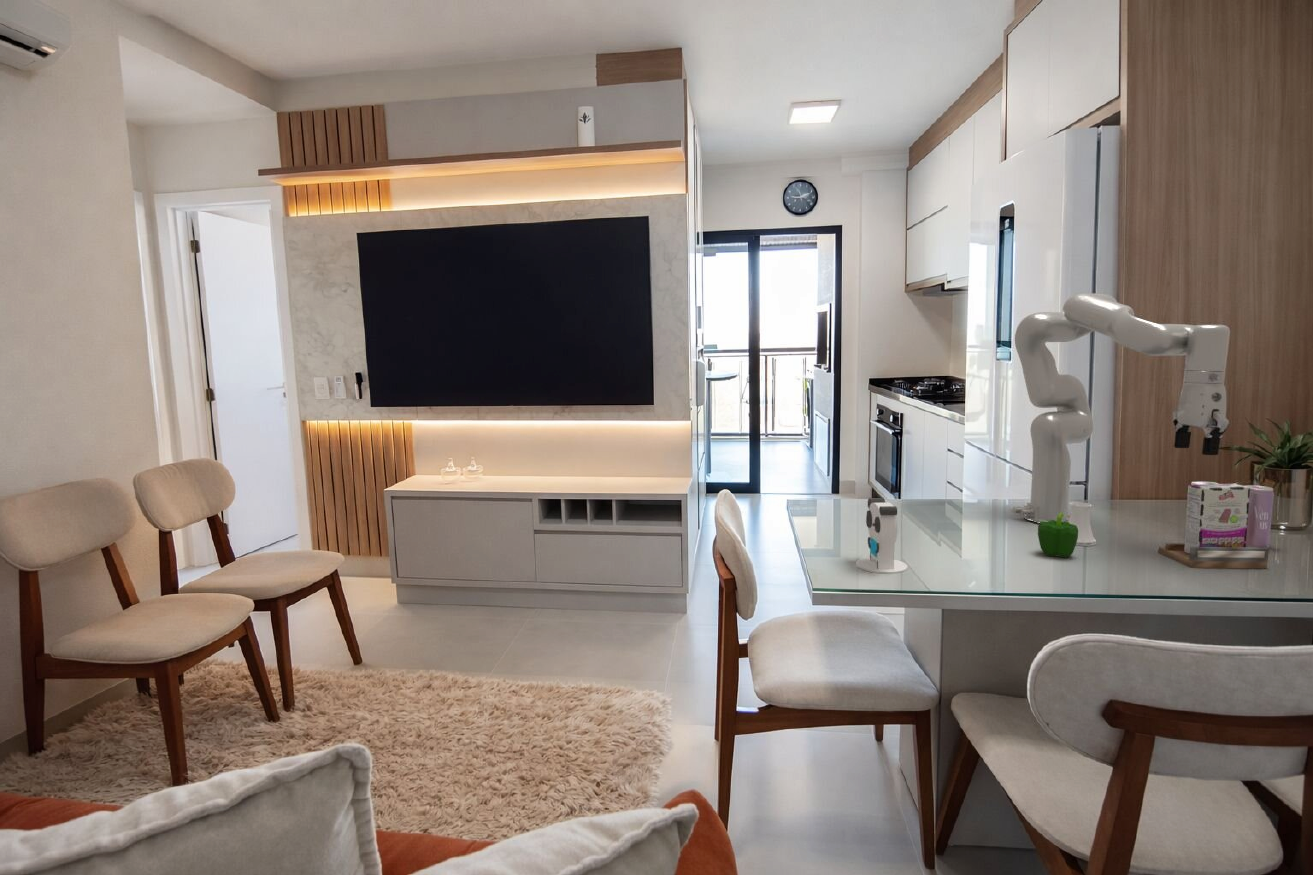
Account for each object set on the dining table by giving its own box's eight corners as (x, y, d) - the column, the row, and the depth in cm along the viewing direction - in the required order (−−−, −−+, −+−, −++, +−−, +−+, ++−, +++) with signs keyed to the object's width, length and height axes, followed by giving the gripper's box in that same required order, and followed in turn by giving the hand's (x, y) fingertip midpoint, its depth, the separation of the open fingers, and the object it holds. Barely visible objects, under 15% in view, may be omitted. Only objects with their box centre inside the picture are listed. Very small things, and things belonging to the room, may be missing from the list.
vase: (1093, 539, 182) (1095, 502, 181) (1097, 547, 175) (1100, 508, 174) (1060, 537, 185) (1062, 499, 184) (1063, 544, 178) (1065, 505, 177)
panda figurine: (850, 557, 169) (851, 496, 167) (897, 557, 168) (899, 496, 167) (863, 573, 157) (864, 508, 155) (914, 573, 157) (916, 507, 155)
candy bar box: (1227, 551, 165) (1233, 482, 163) (1245, 557, 160) (1252, 486, 158) (1181, 552, 165) (1186, 483, 163) (1198, 558, 160) (1204, 487, 158)
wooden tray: (1192, 567, 158) (1194, 548, 157) (1158, 552, 170) (1159, 534, 170) (1268, 568, 157) (1269, 549, 156) (1227, 553, 169) (1229, 534, 168)
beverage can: (1261, 544, 176) (1267, 485, 174) (1273, 550, 170) (1279, 490, 168) (1232, 542, 178) (1238, 484, 176) (1243, 548, 172) (1249, 489, 170)
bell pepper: (1062, 562, 164) (1065, 520, 162) (1030, 553, 171) (1032, 513, 170) (1084, 556, 167) (1087, 515, 166) (1051, 548, 175) (1054, 509, 173)
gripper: (1249, 381, 153) (1239, 458, 156) (1195, 376, 171) (1187, 445, 173) (1212, 381, 154) (1203, 457, 157) (1162, 376, 171) (1155, 445, 174)
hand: (1195, 451), depth 165 cm, fingers open, 9 cm apart
